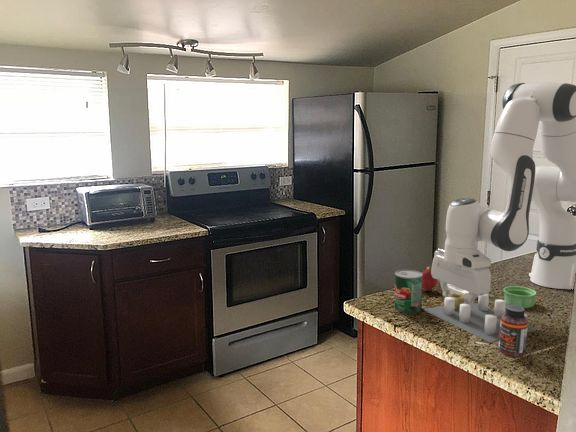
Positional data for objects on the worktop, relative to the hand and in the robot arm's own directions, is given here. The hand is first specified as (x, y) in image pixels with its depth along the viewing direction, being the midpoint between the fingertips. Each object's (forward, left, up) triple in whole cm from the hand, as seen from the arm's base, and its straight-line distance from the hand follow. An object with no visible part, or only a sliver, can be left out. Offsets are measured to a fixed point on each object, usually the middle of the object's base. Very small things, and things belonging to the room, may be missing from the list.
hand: (457, 300), depth 152 cm
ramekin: (-19, +5, -3) cm, 20 cm away
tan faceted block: (0, -1, -2) cm, 2 cm away
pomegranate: (-3, -17, -3) cm, 17 cm away
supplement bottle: (+9, +27, -3) cm, 29 cm away
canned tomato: (+13, -7, -3) cm, 15 cm away
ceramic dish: (-11, -9, -3) cm, 14 cm away
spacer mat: (+1, +9, -3) cm, 9 cm away
